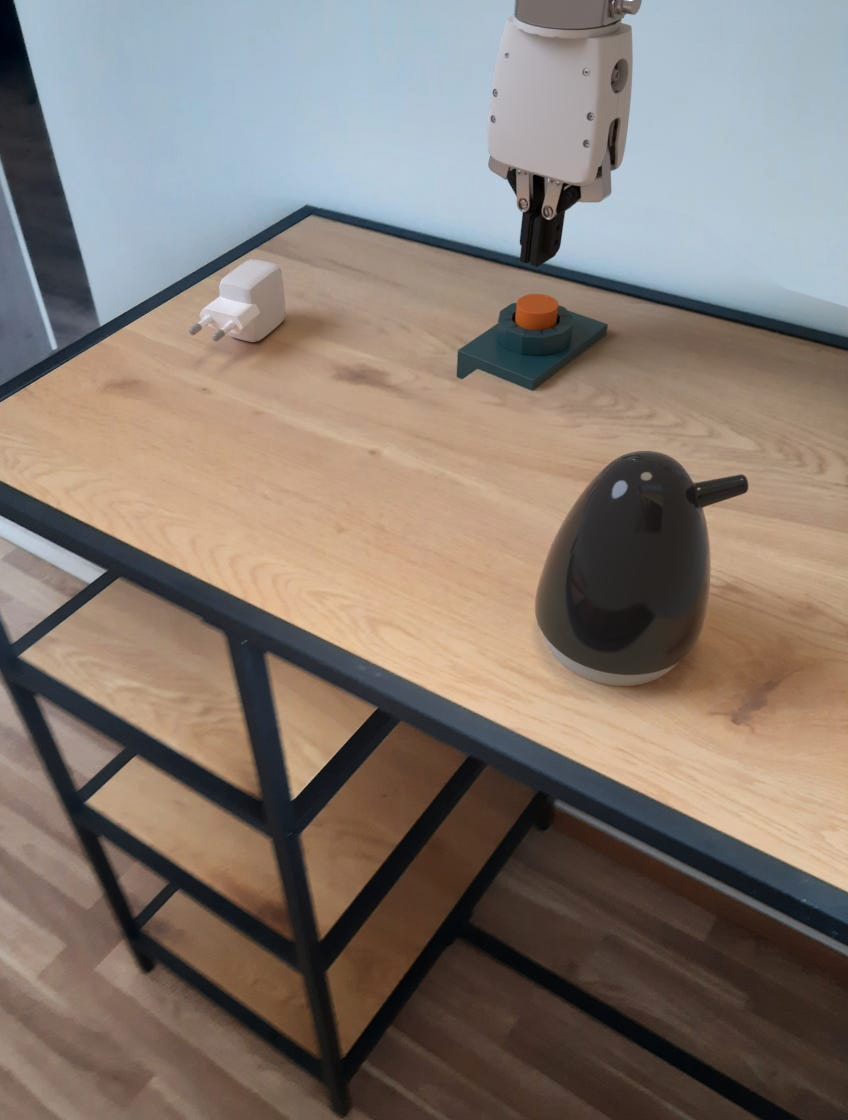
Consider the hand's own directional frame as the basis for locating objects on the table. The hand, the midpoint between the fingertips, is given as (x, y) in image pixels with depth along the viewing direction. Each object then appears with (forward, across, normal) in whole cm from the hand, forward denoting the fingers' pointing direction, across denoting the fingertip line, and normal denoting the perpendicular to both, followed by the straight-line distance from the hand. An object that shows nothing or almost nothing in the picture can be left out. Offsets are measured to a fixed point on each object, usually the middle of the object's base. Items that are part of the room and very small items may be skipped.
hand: (538, 258), depth 78 cm
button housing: (+10, 0, 0) cm, 10 cm away
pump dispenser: (+10, -24, +26) cm, 37 cm away
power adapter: (+10, +24, +13) cm, 29 cm away
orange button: (+6, 0, 0) cm, 6 cm away
